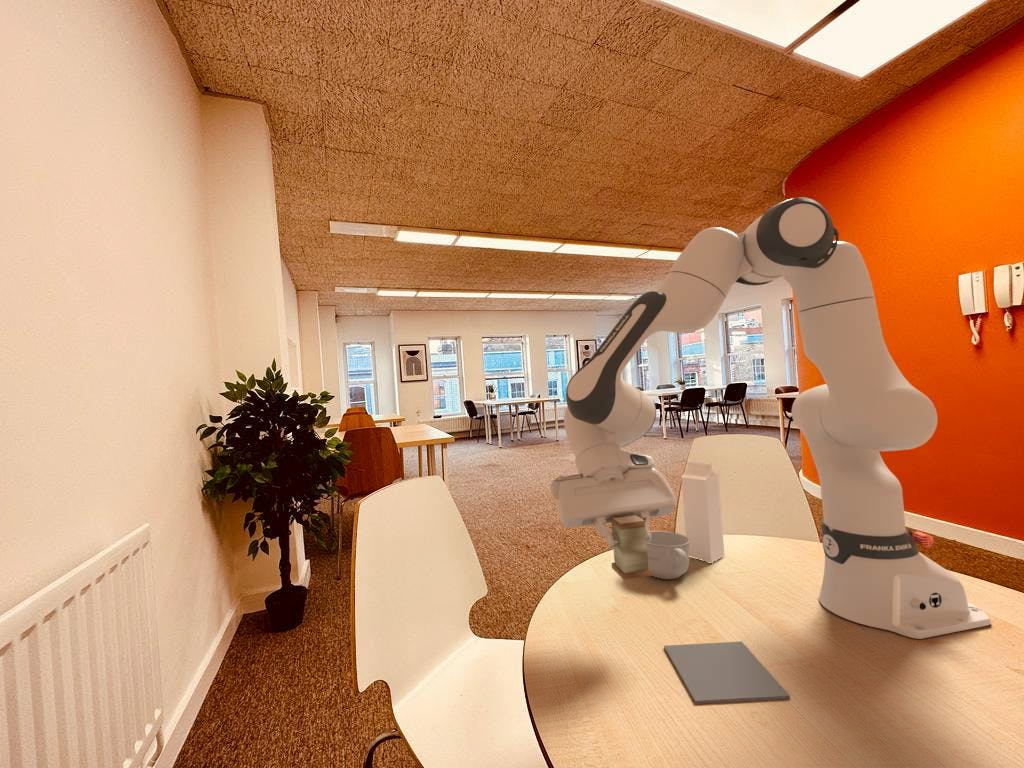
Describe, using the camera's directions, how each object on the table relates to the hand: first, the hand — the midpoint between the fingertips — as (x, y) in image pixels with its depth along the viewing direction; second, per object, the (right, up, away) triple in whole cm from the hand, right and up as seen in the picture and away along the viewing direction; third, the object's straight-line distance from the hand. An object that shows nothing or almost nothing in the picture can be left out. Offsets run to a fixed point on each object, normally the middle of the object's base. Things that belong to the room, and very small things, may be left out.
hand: (630, 543), depth 69 cm
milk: (+26, -15, +32) cm, 44 cm away
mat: (+11, -15, -8) cm, 20 cm away
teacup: (+14, -16, +23) cm, 31 cm away
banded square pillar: (0, -5, +1) cm, 5 cm away
